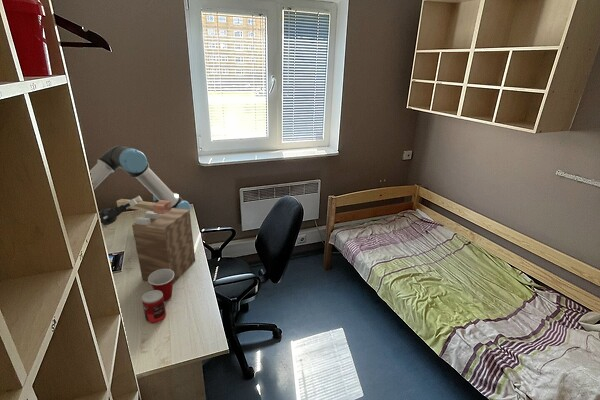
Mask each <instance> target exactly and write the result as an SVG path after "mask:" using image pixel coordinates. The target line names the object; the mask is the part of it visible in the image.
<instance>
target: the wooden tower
mask: <svg viewBox="0 0 600 400" xmlns="http://www.w3.org/2000/svg"><path fill="white" fill-rule="evenodd" d="M143 218H146V217H145V216H144V217H143ZM150 221H151V224H149V225H148V226H147V225H139V224H136V223H135V222H134V223H133V224H131V228H132V231H133V238H134V243H135V249H136V254H137V259H138V263H139V269H140V274H141V280H142V282H143V281H145V282H149V281H148V277H149V275H150V274H151V273H152V272H154V271H156V270H160V269H170V270H172V271H173V272H174V278H173V285H174V284H175V283H176V282H177V281H178V280H179V279H180V278H181V277H182V275H184V273H185V272H187V271H188V269H189V268H190V267H191V266H192V265H193V264H194V263H195V262H196V255H195V245H194V238H193V237H194V236H193V229H192V220H191V209H190V210H187V209H178V208H172V209H171V210H170V211H168V212H167V213H165V214H160V217H159V218H158V219H152V218H150Z"/></svg>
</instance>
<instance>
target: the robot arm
mask: <svg viewBox="0 0 600 400" xmlns="http://www.w3.org/2000/svg"><path fill="white" fill-rule="evenodd" d="M96 161H97V162H96V164H95V165H94V166H93V167H92V168H91V169H90V170H89V171H90V173H91V178H92V183H93V187H94V190H95V189H97V188H98V186H99V185H101V183H102V182H103V181H104V180H105V179H106V178H107V177H108V176H109V175H110V174H112V173H115V172H116V171H117V170H118V169H121V170H123V172H125V173H126V174H127V175H128V176H129V177H130V178H133V179H134V178H135V179H137V181H138V182H140V183H141V185H142V186H144V187H145V189H147V190H148V192H149V193H151V194H152V197H153V198H152V199H153V200H152V201H153V203H157V202H158V201H160V200H165V201H171V208H178V209H187V210H190V211H191V204H190V203H189V201H187V200H184V199H183V198H182V197H181V196H180V195H179V194H178V193H177V192H173V191H172V190H171V189H170V188H169V187H168V186H167V185H166V184H165V183H164V182H163V181H162V180H161V179H160V177H159V176H158V175H157V174H155V172H154V171H153V170H152V169H151V168H150V164H149V162H148V159H147V157H146V155H145V154H144V153H143V152H142V151H140V150H139V149H137V148H132V147H129V146H125V145H115V146H113V147H110V148H109V149H107V150H106V151H105V152H104V153H103V154H102V155H101V156H99V157H98V159H97V160H96ZM129 200H130V201H128V202H126V203H125V204H123V205H124V206H123V205H121V206H120V207H118V206H116V207H113V208H109V207H106V208H103V209H101V210H100V211H98V212H99V215H100V218H101V223H102V227H103V228H104V229H106V228H107V227H108V226H109V225H111V224H113V223H114V222H116V221H117V217H118V216H120V215H121V214H122V213H125V212H127V211H128V210H129V208H130V207H132V206H134V205H135V204H137V202H136V201H144V200H143V198H142V197H141V196H140V195H138V196H136V197H134V198H131V199H129ZM103 228H102V229H103Z"/></svg>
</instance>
